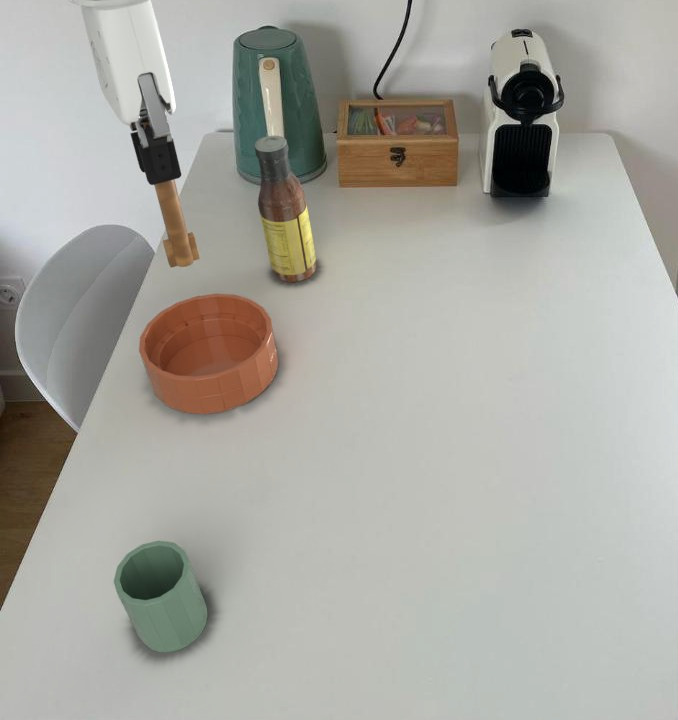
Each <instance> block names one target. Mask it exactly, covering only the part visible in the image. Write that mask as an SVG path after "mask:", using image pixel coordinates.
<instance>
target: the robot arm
mask: <svg viewBox="0 0 678 720" xmlns="http://www.w3.org/2000/svg"><path fill="white" fill-rule="evenodd" d="M68 1H69V2H70V3H72V4H76V5H78V6H80V8H81V14H82V18H83V23H84V26H85V31H86V35H87V37H88V43H89V47H90V50H91V54H92V57H93V62H94V66H95V70H96V74H97V78H98V82H99V86H100V89H101V91H102V94H103V95H104V98H105V100H106V101H107V103H108V104H109V106H110V108H111V109H112V110H113V112H114V114H115V115H116V117H117V118H118V120H119V121H120V122H121V123H123V124H124V125H126V126H129V128H130V130H131V132H130V133H129V134H130V137H131V141H132V145H133V149H134V152H135V156H136V159H137V164H138V167H139V169H140V172H142V173H144V174H145V177H146V182H148V185H151V186H154V185H155V184H159V183H163V182H166V181H170V180H178V179H180V178H181V177H182V170H181V167H180V162H179V158H178V154H177V150H176V145H175V142H174V138H173V136H172V131H171V128H170V124H169V119H168V115H170V116H173V115H174V113H175V112H176V110H177V103H176V97H175V92H174V86H173V83H172V77H171V73H170V70H169V65H168V60H167V56H166V53H165V49H164V44H163V41H162V35H161V33H160V28H159V22H158V20H157V18H156V14H155V10H154V7H153V2H152V0H68ZM167 114H168V115H167ZM148 121H149V123H150V125H146V126H145V129H144V125H143V123H144V122H148Z"/></svg>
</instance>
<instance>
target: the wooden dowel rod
mask: <svg viewBox="0 0 678 720" xmlns="http://www.w3.org/2000/svg"><path fill="white" fill-rule="evenodd" d="M143 125H144V129H145V126H146V125H150V123H149V121H148V122H144V123H143ZM153 187H154V190H155V194H156V197H157V201H158V205H159V208H160V212H161V216H162V219H163V223H164V227H165V230H166V235H167V238H166V239H164V240H162V244H163V248H164V251H165V255H166V259H167V262H168V265H169V268H174V267H178V268H185V267H189V266H191V265H192V264H193V263H194V262H195V261H198V260H200V259H201V257H200V253H199V248H198V245H197V240H196V237H195V234H194V232H193V231H191V232H188V229H187V226H186V225H187V224H186V220H185V217H184V213H183V209H182V205H181V201H180V197H179V192H178V187H177V184H176V179H174V180H170V181H166V182H163V183H159V184H155V185H153Z"/></svg>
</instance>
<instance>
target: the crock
mask: <svg viewBox="0 0 678 720" xmlns="http://www.w3.org/2000/svg"><path fill="white" fill-rule="evenodd" d="M113 585H114V588H115V591H116V594H117V596H118V598H119V601H120V602H121V604H122V606H123V608H124V610H125V612H126V615H127V617H128V618H129V621H131V624H132V626H133V628H134V630H135V632H136V634H137V636H138V638H139V640H141V641H142V644H144V645H145V646H146V647H147V648H149V649H150V650H152V651H155V652H159V653H172V652H177V651H180V650H182V649H184V648H186V647H188V646H190V645H191V644H192V643H194V642H195V641H196V640H197V639H198V638H199V637H200V635H201V634H202V633H203V631H204V630H205V628H206V624H207V622H208V607H207V603H206V602H205V599H204V596H203V594H202V591H201V588H200V585H199V582H198V581H197V578H196V575H195V572H194V570H193V567H192V564H191V562H190V559H189V556H188V554H187V552H186V550H185V549H184V548H183V547H181V546H180V545H178V544H177V543H175V542H172V541H165V540H155V541H151V542H146V543H143V544H140V545H139V546H137V547H136V548H134V549H132V550H130V552H128V553H127V554H126V555H125V556H124V557H123V559H122V560H121V561H120V562H119V564H118V565H117V567H116V570H115V574H114V578H113Z"/></svg>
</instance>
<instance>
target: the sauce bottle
mask: <svg viewBox="0 0 678 720" xmlns="http://www.w3.org/2000/svg"><path fill="white" fill-rule="evenodd" d="M289 150H290V148H289V144H288V142H287V139H286V138H285V137H283V136H281V135H266V136H263V137H260V138H259V139H257V140H256V141H255V142H254V153H255V157H257V159H258V160H257V161H258V164H259V169H260V172H259V173H260V190H259V193H258V198H257V208H258V212H259V216H260V221H261V225H262V229H263V234H264V239H265V244H266V248H267V253H268V257H269V262H270V266H271V269H273V274H274V275H275V277H276V278H277V279H279V280H281V281H283V282H287V283H297V282H301V281H304V280H307V279H309V278H310V277H312V276H313V275H314V273H315V272H316V269H317V262H316V259H317V257H316V251H315V246H314V245H315V244H314V239H313V234H312V233H313V232H312V228H311V221H310V217H309V211H308V205H307V201H306V199H305V192H304V189H303V186H302V185H301V182H300V179H299V178H298V177H297V176H296V175H295V174H294V172H293V171H292V167H291V165H290V160H289Z"/></svg>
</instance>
